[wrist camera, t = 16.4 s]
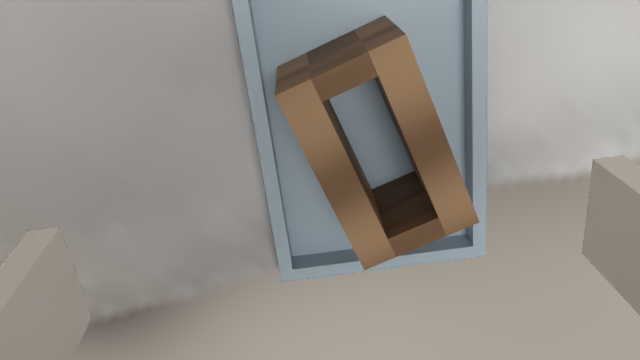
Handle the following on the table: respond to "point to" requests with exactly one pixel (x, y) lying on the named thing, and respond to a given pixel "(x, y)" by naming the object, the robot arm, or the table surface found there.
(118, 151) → the table surface
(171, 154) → the table surface
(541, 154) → the table surface
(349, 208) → the brown wooden hollow block
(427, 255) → the tray
